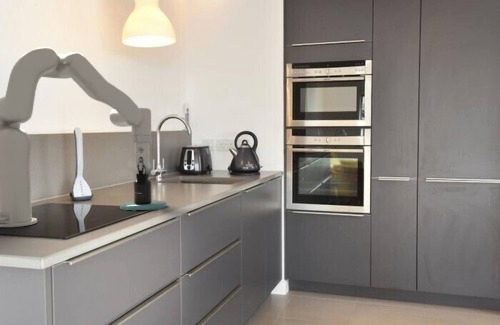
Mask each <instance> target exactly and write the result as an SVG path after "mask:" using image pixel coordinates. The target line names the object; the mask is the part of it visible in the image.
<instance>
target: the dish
mask: <svg viewBox="0 0 500 325" xmlns="http://www.w3.org/2000/svg"><path fill="white" fill-rule="evenodd" d="M167 207H168V204H167V201H164V200H153V199H152V202H151V203H150V204H143V205H139V204H135V203H134V200H132V201H126V202H121V203H120V204H119V208H120V210H121V209H122V210H121V211H127V210H132V211H131V212H137V211H136V210H149V211H156V210H157V211H158V210H163V209H165V208H167Z"/></svg>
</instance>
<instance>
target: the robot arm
mask: <svg viewBox="0 0 500 325" xmlns="http://www.w3.org/2000/svg"><path fill="white" fill-rule="evenodd" d="M41 78H49V79H50V78H51V79H66V80H67V79H71V80H72V81H74V83H76V84H77V85H78V87H79V88H81V90H82V91H83V92H84V93H85V94H86V95H87V97H90V98H91V99H92V100H94V101H97V102H100V103H103V104H105V105H107V106H108V107H111V108H112V110H111V111H110V113H109V121H110V122H111V123H112V125H114V126H115V127H131V144H132V145H133V144H134V159H135V160H134V161H135V169H137V178H136V180H137V185H145V184H146V174H145V173H148V172H147V169H150V168H151V167H150V166H151V165H150V144H152V110H151V109H150V108H147V107H138V106H139V105H137V104H136V103H135V102H134V100H133V99H132V98H131V97H130V96H129V95H127V94H126V93H125V92H123V90H121V89H119V88H118V87H116V86H115V85H114V84H112V83H110V82H109V81H107V79H106V78H105V77H104V76H102V74H101V73H100V72H99V71H98V70H97V69H96V68H95V67H94V66H93V64H92V63H91V62H90V61H89V60H88V58H86V56H84V55H83V54H82V53H80V52H68V53H65V54H58V52H57V51H56V50H54V49H53V48H52V47H49V46H48V47H46V46H45V47H44V46H42V47H38V48H34V49H32V50H29V51H27V52H26V53H24V54H23V55H22V56H21V57H20V58H19V59H18V60H17V61H16V62H15V64H14V65H13V68H12V69H11V72H10V74H9V79H8V82H7V87H6V92H5V96H3V97H0V228H18V227H25V226H31V225H34V224H35V225H36V224H37V223H38V218H36V217H33V213H32V212H33V211H32V209H33V208H32V190H31V189H32V188H31V186H32V185H31V184H32V183H31V154H32V140H31V139H32V138H31V137H30V135H29V134H28V132H26V131H25V130H24V129H22V128H21V124H25V123H27V122H28V121H29V120H31V118H32V116H33V111H34V106H35V105H34V104H35V98H36V91H37V87H38V83H39V81H40V80H41Z"/></svg>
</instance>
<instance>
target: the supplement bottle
mask: <svg viewBox="0 0 500 325" xmlns="http://www.w3.org/2000/svg"><path fill="white" fill-rule="evenodd" d="M145 174H146V184H145V185H137V173H136V174H135V175H136V176H135V177H136V179H135V180H134V181H133V201H134V203H135V204H139V205H143V204H150V203H151V202H152V200H153V199H152V195H153V194H152V181H151V180H150V179H149V178H150V177H149V176H150V174H149V172H147V173H145Z"/></svg>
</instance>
